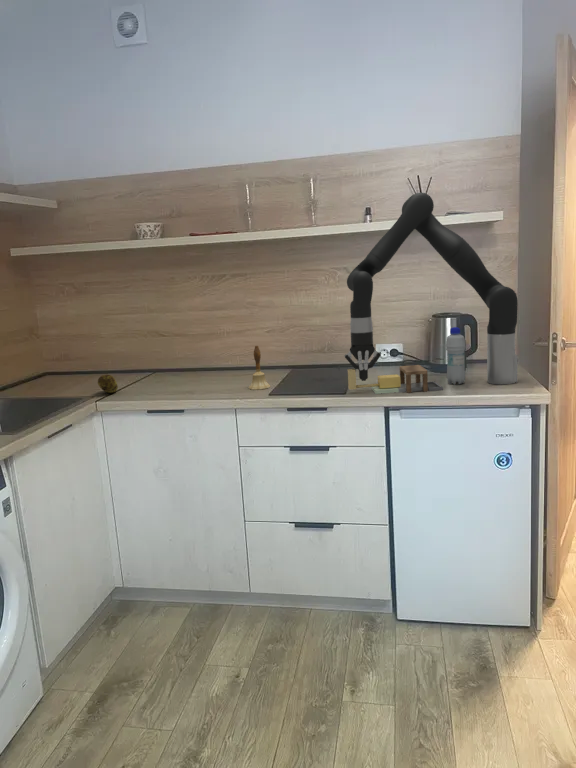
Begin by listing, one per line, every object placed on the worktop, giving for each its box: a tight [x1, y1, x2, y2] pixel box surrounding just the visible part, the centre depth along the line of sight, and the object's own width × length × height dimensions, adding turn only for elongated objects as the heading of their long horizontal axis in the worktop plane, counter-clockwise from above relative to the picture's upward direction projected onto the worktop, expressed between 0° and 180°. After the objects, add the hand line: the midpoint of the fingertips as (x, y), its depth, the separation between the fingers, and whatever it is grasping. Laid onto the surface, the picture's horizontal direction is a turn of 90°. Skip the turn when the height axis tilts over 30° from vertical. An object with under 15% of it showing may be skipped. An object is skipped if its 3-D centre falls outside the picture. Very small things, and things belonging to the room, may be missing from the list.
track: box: [371, 382, 423, 395], centre depth 219 cm, size 18×8×1 cm, turn 92°
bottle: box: [445, 326, 466, 386], centre depth 221 cm, size 7×7×20 cm
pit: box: [420, 381, 444, 392], centre depth 219 cm, size 5×11×1 cm, turn 2°
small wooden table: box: [399, 364, 429, 394], centre depth 219 cm, size 7×12×7 cm, turn 1°
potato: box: [97, 374, 119, 394], centre depth 246 cm, size 8×13×8 cm, turn 175°
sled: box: [347, 368, 401, 391], centre depth 218 cm, size 18×5×7 cm, turn 91°
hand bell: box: [248, 345, 271, 391], centre depth 238 cm, size 8×8×16 cm
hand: (363, 380), depth 218 cm, fingers closed
